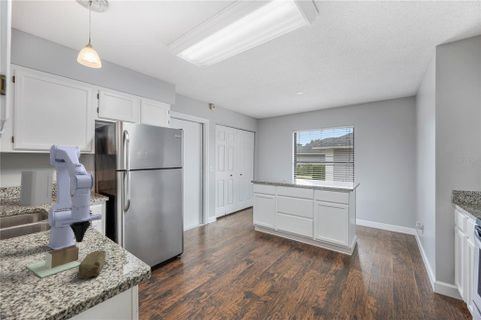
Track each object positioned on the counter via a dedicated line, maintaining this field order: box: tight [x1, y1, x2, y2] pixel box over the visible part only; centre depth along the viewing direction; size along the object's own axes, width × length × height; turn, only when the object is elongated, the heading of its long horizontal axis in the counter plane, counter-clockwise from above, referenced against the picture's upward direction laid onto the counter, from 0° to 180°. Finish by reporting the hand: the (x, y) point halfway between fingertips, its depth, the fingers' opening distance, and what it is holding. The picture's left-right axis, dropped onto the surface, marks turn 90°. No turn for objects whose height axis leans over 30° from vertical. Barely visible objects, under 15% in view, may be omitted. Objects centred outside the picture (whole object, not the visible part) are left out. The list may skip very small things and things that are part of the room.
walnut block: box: [44, 245, 80, 269], centre depth 78 cm, size 4×4×8 cm
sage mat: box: [25, 259, 81, 279], centre depth 76 cm, size 14×11×1 cm
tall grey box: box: [19, 170, 54, 207], centre depth 180 cm, size 19×15×28 cm
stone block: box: [77, 250, 107, 280], centre depth 74 cm, size 6×12×5 cm, turn 22°
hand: (79, 241), depth 83 cm, fingers closed
